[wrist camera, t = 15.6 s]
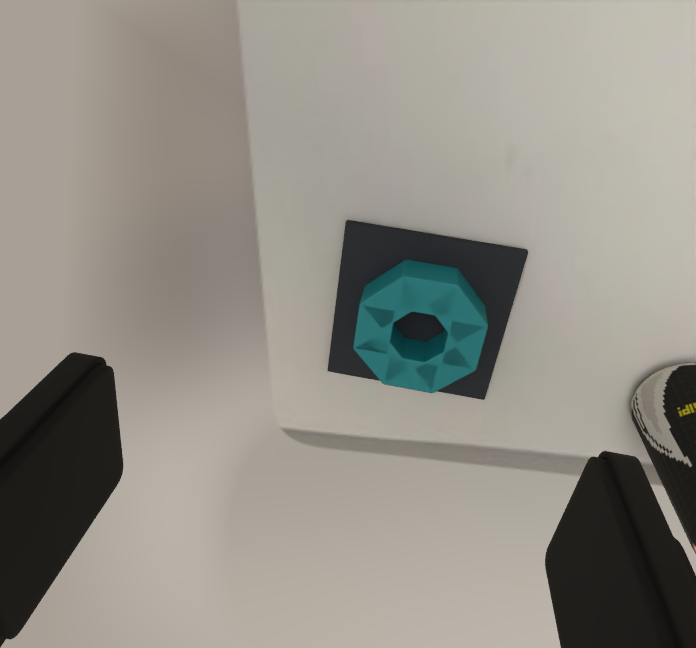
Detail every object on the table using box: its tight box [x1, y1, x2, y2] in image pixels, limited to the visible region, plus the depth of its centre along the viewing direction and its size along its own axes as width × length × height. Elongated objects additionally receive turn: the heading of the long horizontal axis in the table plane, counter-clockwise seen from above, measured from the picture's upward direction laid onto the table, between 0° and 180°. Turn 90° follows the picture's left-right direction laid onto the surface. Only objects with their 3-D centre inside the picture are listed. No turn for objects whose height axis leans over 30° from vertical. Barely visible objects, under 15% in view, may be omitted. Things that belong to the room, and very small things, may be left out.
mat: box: [328, 220, 528, 400], centre depth 33 cm, size 10×10×1 cm
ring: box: [353, 260, 488, 393], centre depth 32 cm, size 7×7×2 cm
